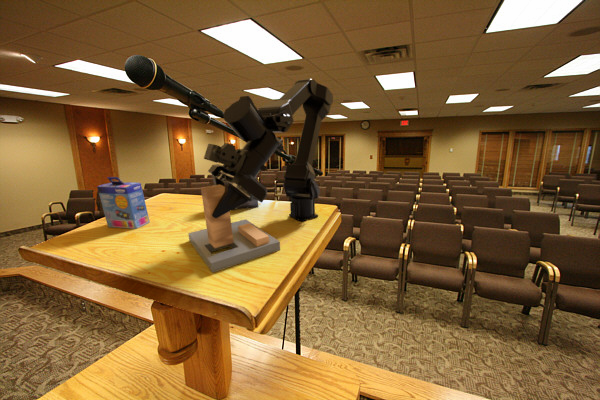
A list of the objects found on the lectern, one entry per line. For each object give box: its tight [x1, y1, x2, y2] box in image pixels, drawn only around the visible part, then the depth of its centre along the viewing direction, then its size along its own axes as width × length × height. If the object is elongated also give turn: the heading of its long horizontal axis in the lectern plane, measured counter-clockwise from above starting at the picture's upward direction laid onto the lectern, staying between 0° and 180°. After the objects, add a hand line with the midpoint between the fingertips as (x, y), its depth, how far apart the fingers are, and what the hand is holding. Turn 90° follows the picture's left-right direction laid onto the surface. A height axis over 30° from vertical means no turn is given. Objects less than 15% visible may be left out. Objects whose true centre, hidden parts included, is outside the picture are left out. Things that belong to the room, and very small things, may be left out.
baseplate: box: [188, 218, 281, 273], centre depth 60 cm, size 15×18×4 cm
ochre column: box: [200, 184, 233, 248], centre depth 54 cm, size 4×4×12 cm
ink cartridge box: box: [96, 176, 150, 230], centre depth 74 cm, size 10×6×14 cm, turn 78°
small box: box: [231, 176, 259, 211], centre depth 88 cm, size 11×6×10 cm, turn 105°
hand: (210, 214), depth 53 cm, fingers closed on ochre column, 4 cm apart
